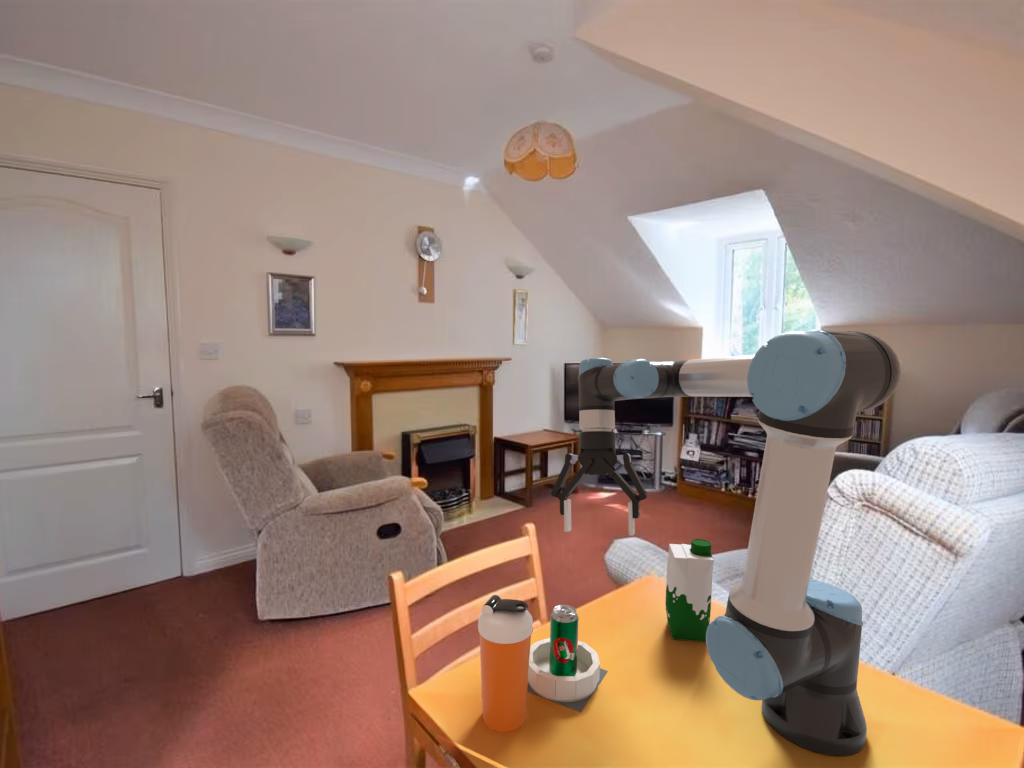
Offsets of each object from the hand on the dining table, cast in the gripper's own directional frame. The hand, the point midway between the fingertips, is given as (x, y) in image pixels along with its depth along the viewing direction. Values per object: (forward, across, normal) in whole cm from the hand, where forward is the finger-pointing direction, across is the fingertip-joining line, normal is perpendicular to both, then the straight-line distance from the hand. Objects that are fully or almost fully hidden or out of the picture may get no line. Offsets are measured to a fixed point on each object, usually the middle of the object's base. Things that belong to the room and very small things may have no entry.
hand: (599, 533), depth 113 cm
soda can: (+24, +4, +13) cm, 27 cm away
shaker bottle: (+27, +10, +26) cm, 39 cm away
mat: (+25, +4, +13) cm, 28 cm away
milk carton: (+22, -15, -13) cm, 30 cm away
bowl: (+24, +4, +13) cm, 28 cm away
